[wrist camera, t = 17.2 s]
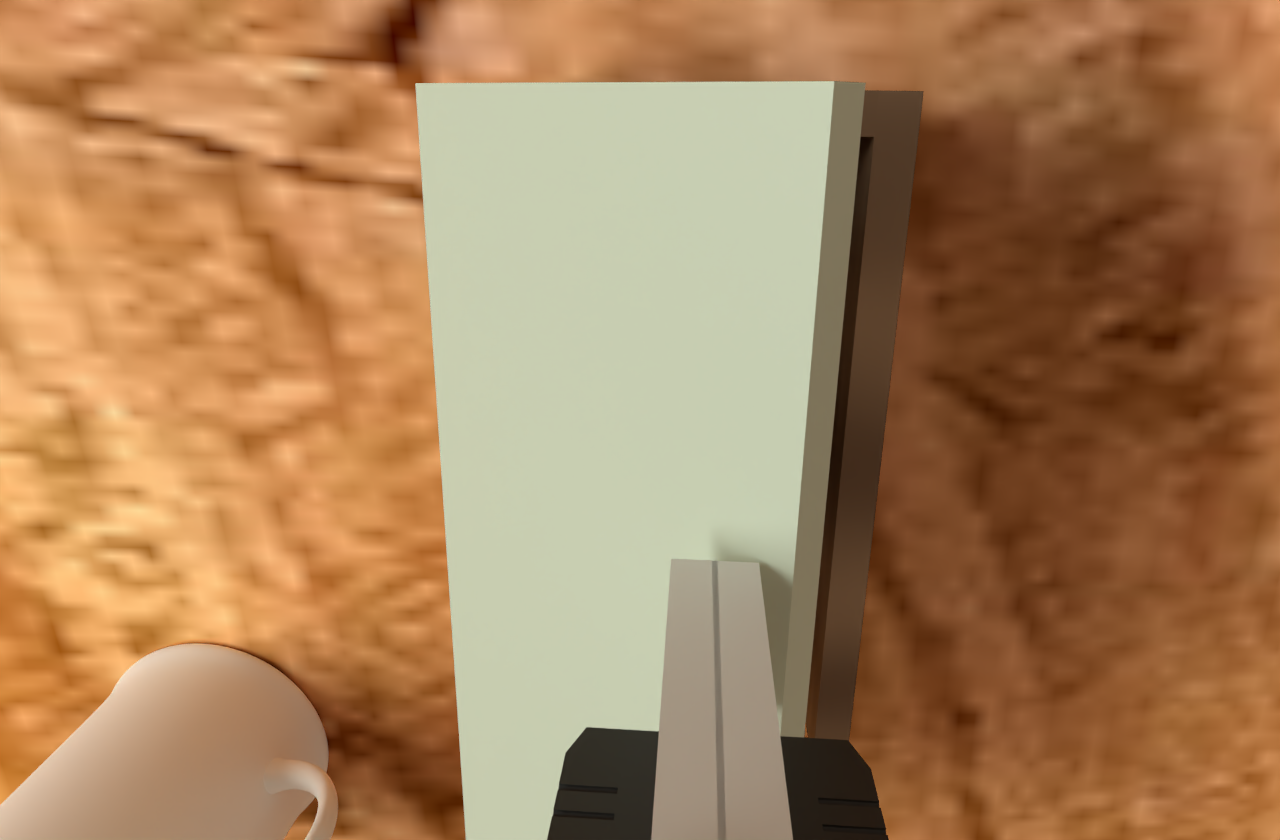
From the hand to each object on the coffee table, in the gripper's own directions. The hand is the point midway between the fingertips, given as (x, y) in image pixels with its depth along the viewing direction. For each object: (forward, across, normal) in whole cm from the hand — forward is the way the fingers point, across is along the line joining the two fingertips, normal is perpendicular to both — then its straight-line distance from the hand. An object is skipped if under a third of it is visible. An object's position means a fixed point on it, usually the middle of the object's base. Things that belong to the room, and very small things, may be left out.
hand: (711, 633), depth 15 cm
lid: (+4, -2, -4) cm, 6 cm away
